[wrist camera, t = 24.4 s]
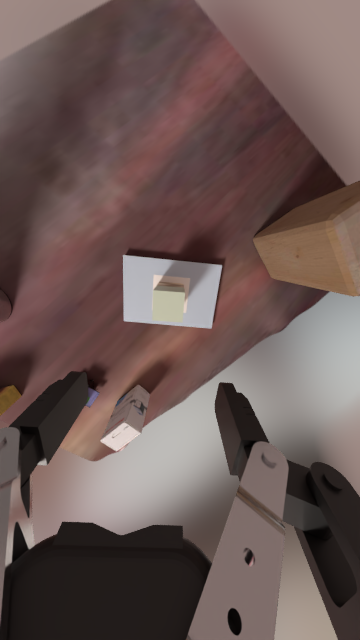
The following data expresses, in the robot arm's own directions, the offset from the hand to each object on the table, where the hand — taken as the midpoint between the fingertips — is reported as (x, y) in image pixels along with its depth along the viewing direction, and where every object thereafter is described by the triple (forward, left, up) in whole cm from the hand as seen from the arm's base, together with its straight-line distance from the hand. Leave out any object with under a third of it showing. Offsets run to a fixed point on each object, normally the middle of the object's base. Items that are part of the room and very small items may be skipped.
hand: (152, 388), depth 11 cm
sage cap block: (0, 0, -24) cm, 24 cm away
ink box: (-8, -30, -30) cm, 43 cm away
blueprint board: (0, 0, -30) cm, 30 cm away
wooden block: (+22, +12, -30) cm, 39 cm away
